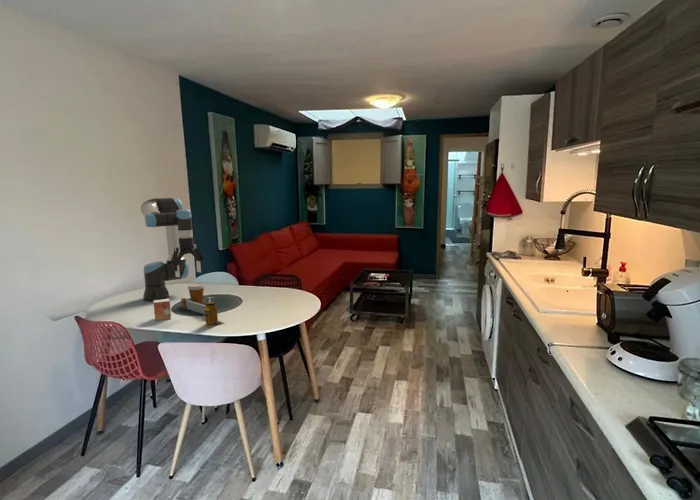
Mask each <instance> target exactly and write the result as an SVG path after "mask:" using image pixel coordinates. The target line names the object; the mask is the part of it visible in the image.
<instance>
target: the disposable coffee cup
mask: <svg viewBox="0 0 700 500" xmlns="http://www.w3.org/2000/svg"><path fill="white" fill-rule="evenodd" d="M204 288H205V284H204V283H201V282H195V283H190V284H188V286H187V289H188V293H189V297H190V301H192V302H196V303H199V304H204V303H203V302H204Z"/></svg>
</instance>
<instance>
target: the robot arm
mask: <svg viewBox="0 0 700 500" xmlns="http://www.w3.org/2000/svg"><path fill="white" fill-rule="evenodd" d="M140 212H141V213H142V215H143V216H144V222H145V226H146V227H147V228H158V227H165V236H166V243H167V244H166V245H167V252H168V253H167V254H168V258H167V259H166V263H164V261H162V260H160V261H153V262H152V261H151V262H149V263H146V264H145V265H144V266H143V275H144V286H145V288H144V290H143V291H144V292H143V295H142V298H143V299H144V300H143V301H145V300H146V301H147V302H154V300H162V299H169V298H170V292H169V290H168V288H167V285H166V282H169V281H177V280H183V279H186V278H188V276H189V273H190V265H189V264H190V263H189V261H188V260H186V257H184V256H185V255H188V254H189V255H190V254H191V255H192V256H193V257H194V258H195V259H196V261H195V263H196V264H195V265H196V272H197V273H202V268H201V267H202V264H203V263H202V262H203V260H205V257H204V254H203V253H202V251H201V250H200V248H199V247H200V246H199V244H196V243H194V237H193V236H194V235H193V221H192V217H193V215H192V211H191V209H184V206H183V204H182V201H181V199H180V198H177V197H163V198H162V197H161V198H160V197H159V198H155V197H154V198H151V199H148V200H146V201H144V202H143V203H142V204H141V206H140Z"/></svg>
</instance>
